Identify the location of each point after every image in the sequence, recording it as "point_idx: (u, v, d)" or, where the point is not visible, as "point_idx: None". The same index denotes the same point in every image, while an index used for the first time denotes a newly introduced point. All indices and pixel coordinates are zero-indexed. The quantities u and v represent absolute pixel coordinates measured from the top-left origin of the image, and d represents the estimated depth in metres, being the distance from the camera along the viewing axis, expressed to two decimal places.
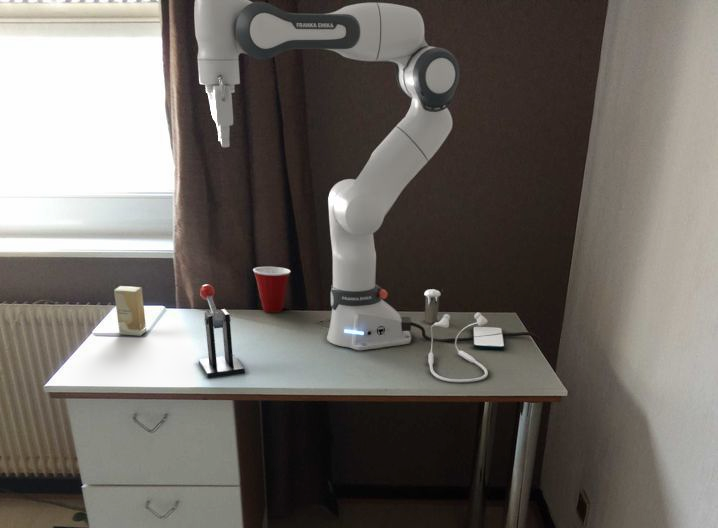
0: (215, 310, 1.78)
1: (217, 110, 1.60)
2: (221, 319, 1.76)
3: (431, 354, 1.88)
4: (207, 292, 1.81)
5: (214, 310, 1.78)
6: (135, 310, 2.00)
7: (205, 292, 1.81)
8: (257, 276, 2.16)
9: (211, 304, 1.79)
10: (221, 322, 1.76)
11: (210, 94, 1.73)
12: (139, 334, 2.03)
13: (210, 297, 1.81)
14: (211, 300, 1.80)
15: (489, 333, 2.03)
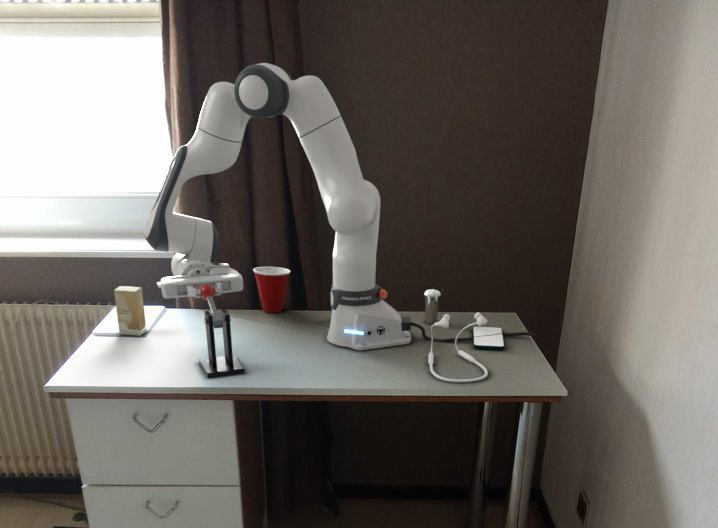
0: (215, 310, 1.78)
1: (162, 294, 1.85)
2: (221, 319, 1.76)
3: (431, 354, 1.88)
4: (207, 292, 1.81)
5: (214, 310, 1.78)
6: (135, 310, 2.00)
7: (205, 292, 1.81)
8: (257, 276, 2.16)
9: (211, 304, 1.79)
10: (221, 322, 1.76)
11: None
12: (139, 334, 2.03)
13: (210, 297, 1.81)
14: (211, 300, 1.80)
15: (489, 333, 2.03)
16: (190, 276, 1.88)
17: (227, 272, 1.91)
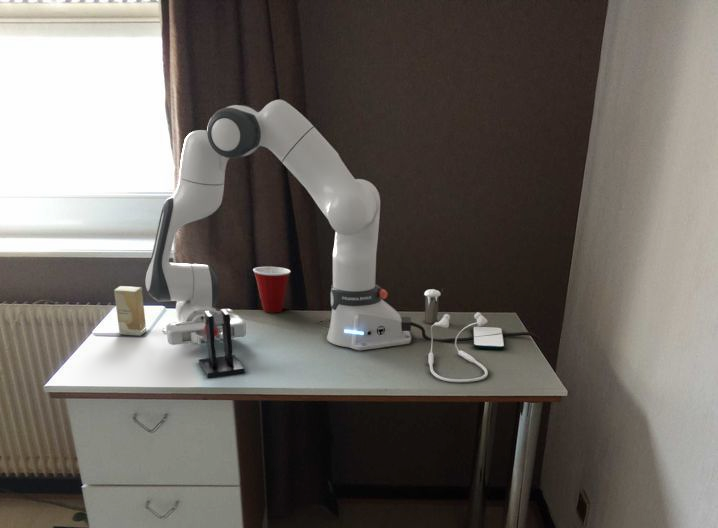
0: None
1: None
2: (220, 313, 1.76)
3: (431, 354, 1.88)
4: None
5: None
6: (135, 310, 2.00)
7: None
8: (257, 276, 2.16)
9: None
10: (220, 316, 1.76)
11: None
12: (139, 334, 2.03)
13: None
14: None
15: (489, 333, 2.03)
16: (195, 322, 1.94)
17: (230, 318, 1.97)
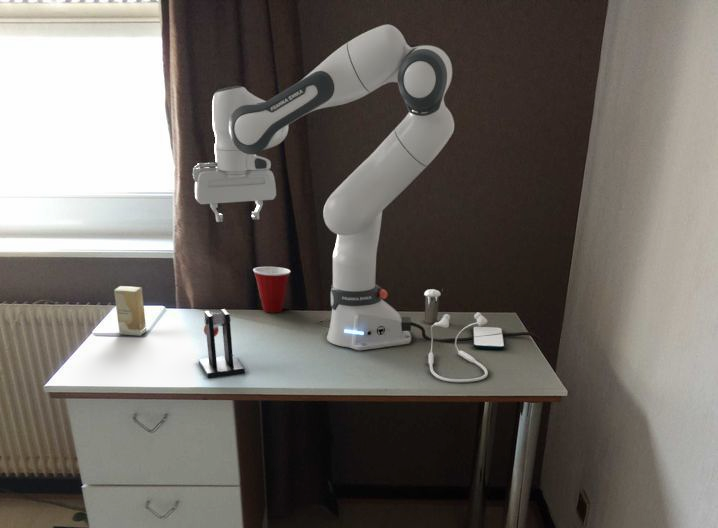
0: None
1: (195, 189, 1.87)
2: (220, 313, 1.76)
3: (431, 354, 1.88)
4: None
5: None
6: (135, 310, 2.00)
7: None
8: (257, 276, 2.16)
9: None
10: (220, 316, 1.76)
11: None
12: (139, 334, 2.03)
13: None
14: None
15: (489, 333, 2.03)
16: (228, 179, 1.85)
17: (265, 178, 1.88)
